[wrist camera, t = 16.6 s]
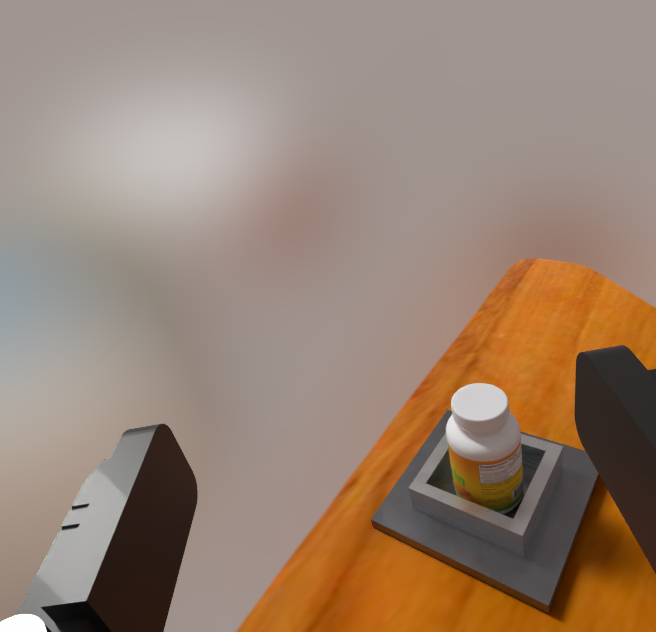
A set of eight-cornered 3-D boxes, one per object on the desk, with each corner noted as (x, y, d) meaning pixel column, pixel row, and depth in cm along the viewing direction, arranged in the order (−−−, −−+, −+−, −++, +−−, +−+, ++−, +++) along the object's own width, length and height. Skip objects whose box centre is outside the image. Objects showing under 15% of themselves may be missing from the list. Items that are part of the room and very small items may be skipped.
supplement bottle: (446, 472, 44) (432, 386, 40) (508, 457, 44) (501, 369, 39) (466, 525, 40) (453, 435, 35) (535, 509, 40) (531, 417, 35)
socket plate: (448, 417, 51) (444, 390, 49) (603, 465, 43) (606, 434, 41) (373, 527, 43) (365, 499, 41) (548, 614, 34) (548, 584, 32)
